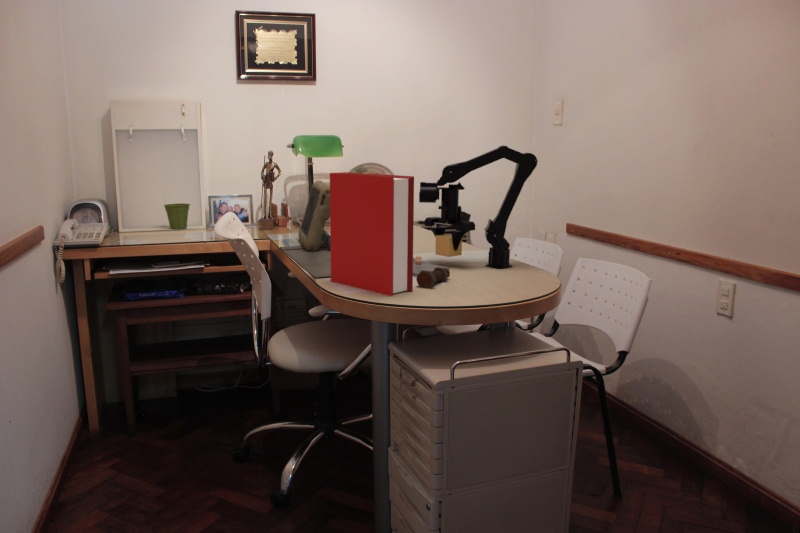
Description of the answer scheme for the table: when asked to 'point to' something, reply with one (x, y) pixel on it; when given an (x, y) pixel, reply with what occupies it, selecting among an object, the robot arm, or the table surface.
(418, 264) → the junction plate
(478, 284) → the table surface
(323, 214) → the rugged handheld device
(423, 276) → the bolt
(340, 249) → the book
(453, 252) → the wooden toy cube
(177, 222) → the plant pot
